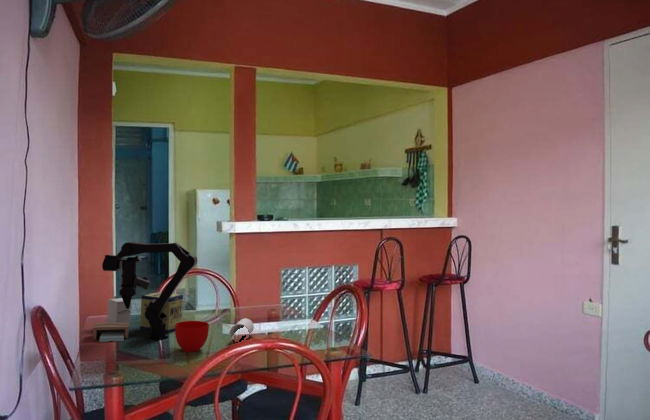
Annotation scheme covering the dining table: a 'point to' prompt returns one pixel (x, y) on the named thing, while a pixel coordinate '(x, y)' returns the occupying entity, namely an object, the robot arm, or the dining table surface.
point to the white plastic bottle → (241, 324)
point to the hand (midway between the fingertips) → (127, 308)
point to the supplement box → (118, 311)
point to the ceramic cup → (191, 335)
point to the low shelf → (110, 328)
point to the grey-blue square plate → (112, 336)
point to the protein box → (171, 310)
